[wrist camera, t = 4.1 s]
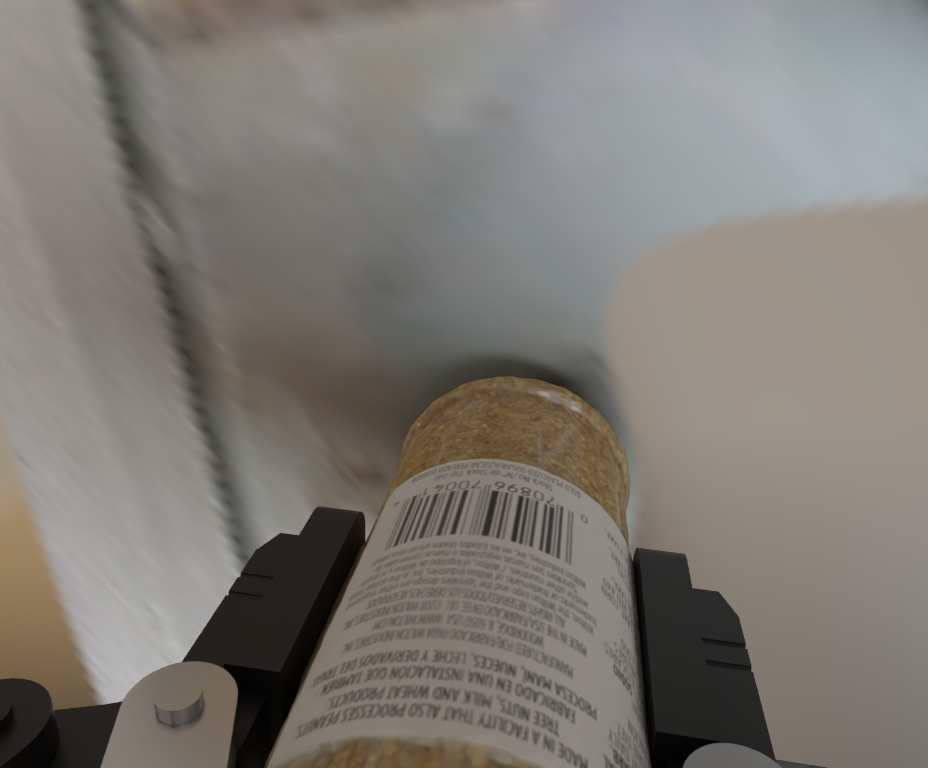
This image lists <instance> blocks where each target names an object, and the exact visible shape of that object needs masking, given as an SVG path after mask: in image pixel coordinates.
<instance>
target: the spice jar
mask: <svg viewBox="0 0 928 768" xmlns="http://www.w3.org/2000/svg"><path fill="white" fill-rule="evenodd" d="M397 470H398V473H397V475H396V477H395V479H394V481H393V483H392V485H391V487H390V489H389V492H388V495H387V497H386V499H385V501H384V503H383V505H382V507H381V510H380V512H379V515H378V518H377V519H376V521H375V524H374V526H373V528H372V530H371V532H370V534H369V536H368V538H367V540H366V542H365V543H364V544H363V545H362V546H361V548H360V550H359V552H358V554H357V556H356V559H355V561H354V563H353V565H352V567H351V569H350V571H349V573H348V576H347V578H346V580H345V582H344V584H343V587H342V589H341V591H340V593H339V595H338V597H337V599H336V601H335V604H334V606H333V608H332V611H331V613H330V615H329V618H328V620H327V622H326V624H325V627H324V629H323V631H322V633H321V635H320V637H319V640H318V642H317V644H316V647H315V649H314V651H313V653H312V655H311V658H310V660H309V662H308V664H307V666H306V668H305V671H304V673H303V676H302V678H301V681H300V685H299V689H298V693H297V695H296V698H295V701H294V703H293V705H292V707H291V709H290V712H289V714H288V717H287V719H286V720H285V722H284V724H283V726H282V728H281V730H280V732H279V735H278V737H277V740H276V742H275V744H274V747H273V749H272V751H271V753H270V755H269V757H268V759H267V761H266V763H265V767H264V768H652V767H651V761H650V751H649V740H648V728H647V715H646V701H645V689H644V677H643V666H642V652H641V641H640V631H639V620H638V609H637V597H636V585H635V572H634V566H633V562H632V557H631V554H630V552H629V545H628V529H627V523H626V514H625V512H626V509H627V505H628V500H629V494H630V477H629V470H628V462H627V458H626V454H625V450H624V449H623V447H622V446H621V444H620V443H619V441H618V438H617V436H616V434H615V432H614V430H613V429H612V428H611V426H610V425H609V424H608V423H607V422H606V421H605V420H604V418H603V417H602V416H601V415H600V413H599V412H598V411H597V410H596V409H595V408H593V407H592V406H590V405H588V404H587V403H586V402H585V401H584V400H583V399H582V398H580V397H579V396H577V395H575V394H574V393H572V392H570V391H569V390H567V389H566V388H563V387H560V386H556V385H553V384H550V383H548V382H545V381H541V380H536V379H532V378H518V377H515V376H502V377H493V378H487V379H480V380H474V381H471V382H468V383H465V384H462V385H461V386H459V387H457V388H455V389H453V390H451V391H449V392H447V393H446V394H445V395H443V396H442V397H440V398H439V399H437V400H435V401H433V402H432V403H431V404H430V405H429V407H428V408H427V409H426V410H425V411H424V412H423V413H422V414H421V415H420V416H419V417H418V418H417V420H416V421H415V422H414V424H413V425H412V426H411V428H410V430H409V432H408V434H407V435H406V438H405V441H404V444H403V447H402V454H401V457H400V460H399V462H398V468H397Z"/></svg>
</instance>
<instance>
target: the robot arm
mask: <svg viewBox="0 0 928 768" xmlns="http://www.w3.org/2000/svg"><path fill="white" fill-rule="evenodd" d="M364 543H365V518H364V514H363V513H362V512H358V511H350V510H342V509H334V508H326V507H317V508H316V509H315V510H314V511H313V513H312V515H311V516H310V518H309V520H308V521H307V523H306V525H305V526H304V528H303V530H302V531H301V533H300V535H292V534H284V533H280V534H279V535H277V536H276V537H274V538H273V539H271V540H270V541H269V542H267V543H266V544H264V545H263V546H261V547H260V548H259V549H257V550H256V551H255V552H254V554H253V555H252V557H251V558H250V560H249V561H248V563H247V564H246V566H245V567H244V569H243V570H242V572H241V576H240V577H238V578H237V580H236V581H235V583H234V584H233V586H232V587H231V589H230V590H229V594H228V596H225V598H224V599H223V601H222V602H221V604H220V605H219V607H218V608H217V610H216V611H215V613H214V614H213V616H212V617H211V619H210V620H209V622H208V623H207V625H206V626H205V628H204V629H203V631H202V632H201V634H200V635H199V637H198V638H197V640H196V641H195V643H194V645H193V646H192V648H191V649H190V651H189V652H188V654H187V655H186V657H185V658H184V660H183V661H182V662H181V663H176V664H172V665H169V666H166V667H163V668H161V669H158V670H156V671H154V672H152V673H151V674H149V675H147V676H146V677H144V678H143V679H142V680H140V681H139V682H138V683H137V684H136V685H135V686H134V687H133V688H132V689H131V690H130V691H129V692H128V694H127V695H126V697H125V698H124V700H123V701H121V702H117V703H111V704H105V705H96V706H87V707H79V708H70V709H61V710H54V709H53V705H52V701H51V697H50V695H49V692H48V691H47V690H46V689H45V688H44V687H43V686H41V685H40V684H38V683H36V682H33V681H31V680H26V679H13V678H12V679H1V680H0V768H264V767H265V763H266V761H267V759H268V757H269V755H270V753H271V751H272V749H273V747H274V744H275V742H276V740H277V737H278V735H279V732H280V730H281V728H282V726H283V724H284V722H285V720H286V719H287V717H288V714H289V712H290V709H291V707H292V705H293V703H294V701H295V698H296V695H297V693H298V689H299V685H300V681H301V678H302V676H303V673H304V671H305V668H306V666H307V664H308V662H309V660H310V658H311V655H312V653H313V651H314V649H315V647H316V644H317V642H318V640H319V637H320V635H321V633H322V631H323V629H324V627H325V624H326V622H327V620H328V618H329V615H330V613H331V611H332V608H333V606H334V604H335V601H336V599H337V597H338V595H339V593H340V591H341V589H342V587H343V584H344V582H345V580H346V578H347V576H348V573H349V571H350V569H351V567H352V565H353V563H354V561H355V559H356V556H357V554H358V552H359V550H360V548H361V546H362V545H363V544H364ZM633 566H634V572H635V585H636V597H637V609H638V620H639V631H640V641H641V652H642V666H643V677H644V689H645V701H646V715H647V728H648V740H649V751H650V761H651V767H652V768H782V767H781V766H780V765H779V764H778V763H777V762H776V759H775V756H774V753H773V748H772V744H771V741H770V736H769V733H768V729H767V725H766V721H765V717H764V713H763V709H762V705H761V701H760V698H759V694H758V690H757V686H756V682H755V679H754V674H753V672H751V663H750V659H749V655H748V651H747V649H745V645H746V643H745V639H744V636H743V632H742V628H741V624H740V620H739V617H738V615H737V614H736V613H735V612H734V610H733V609H732V608H731V607H730V605H729V604H728V603H727V602H726V600H725V599H724V598H723V597H722V595H721V594H720V593H719V592H716V591H709V590H702V589H694V588H692V584H691V579H690V574H689V568H688V563H687V558H686V556H685V554H682V553H674V552H666V551H658V550H650V549H643V548H636V550H635V554H634V558H633Z"/></svg>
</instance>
